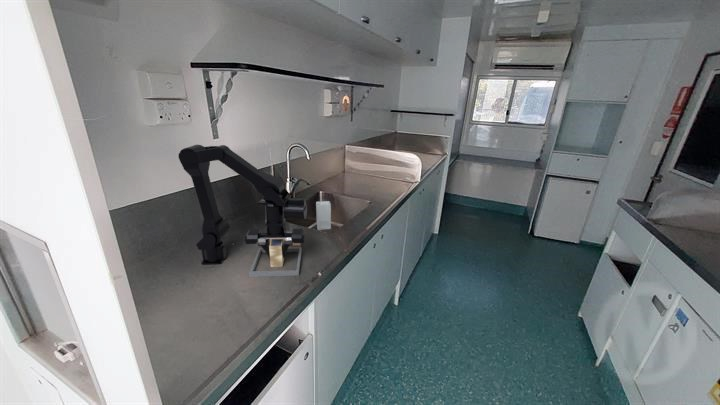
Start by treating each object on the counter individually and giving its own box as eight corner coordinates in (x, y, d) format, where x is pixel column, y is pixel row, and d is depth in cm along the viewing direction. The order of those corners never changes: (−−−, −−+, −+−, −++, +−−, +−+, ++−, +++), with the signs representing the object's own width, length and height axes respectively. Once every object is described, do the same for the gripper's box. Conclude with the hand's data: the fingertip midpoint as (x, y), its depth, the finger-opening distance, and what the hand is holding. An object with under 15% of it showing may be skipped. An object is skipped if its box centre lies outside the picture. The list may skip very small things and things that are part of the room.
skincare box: (329, 225, 131) (329, 200, 126) (331, 229, 127) (331, 204, 122) (316, 226, 129) (315, 200, 125) (317, 230, 125) (316, 204, 121)
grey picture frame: (249, 276, 93) (248, 272, 92) (259, 251, 107) (258, 248, 107) (298, 275, 95) (298, 271, 94) (301, 250, 109) (301, 247, 109)
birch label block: (270, 267, 98) (269, 246, 95) (273, 258, 103) (271, 238, 100) (282, 266, 99) (281, 245, 96) (284, 258, 104) (283, 238, 101)
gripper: (305, 207, 103) (305, 245, 109) (250, 207, 101) (254, 246, 106) (303, 220, 93) (304, 262, 99) (242, 221, 91) (247, 263, 96)
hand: (277, 257), depth 100 cm, fingers closed on birch label block, 4 cm apart
